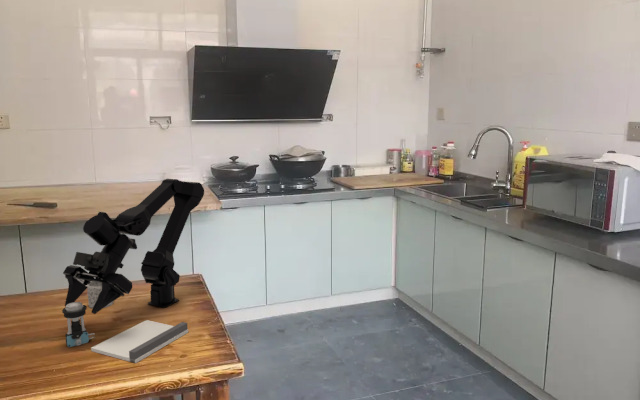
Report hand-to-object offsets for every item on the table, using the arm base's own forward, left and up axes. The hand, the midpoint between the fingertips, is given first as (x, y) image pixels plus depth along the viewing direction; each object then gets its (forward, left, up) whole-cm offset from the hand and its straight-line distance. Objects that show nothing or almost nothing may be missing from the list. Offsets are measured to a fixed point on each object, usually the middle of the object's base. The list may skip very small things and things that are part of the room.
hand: (79, 310), depth 124 cm
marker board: (-7, +13, -8) cm, 17 cm away
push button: (0, 0, -8) cm, 8 cm away
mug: (-22, -16, -8) cm, 28 cm away
